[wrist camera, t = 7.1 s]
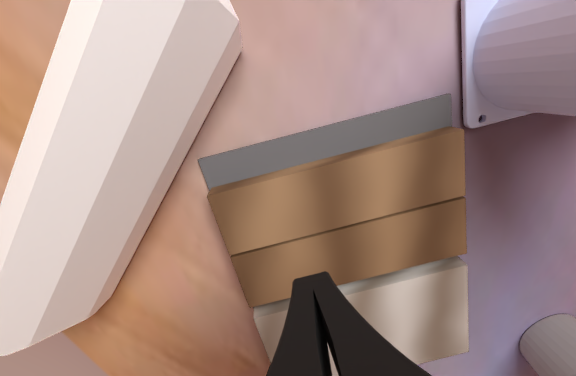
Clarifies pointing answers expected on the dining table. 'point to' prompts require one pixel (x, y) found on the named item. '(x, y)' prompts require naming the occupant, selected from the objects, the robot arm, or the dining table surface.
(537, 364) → the coffee cup
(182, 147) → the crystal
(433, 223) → the walnut boards
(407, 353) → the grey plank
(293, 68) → the dining table surface
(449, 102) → the underlay mat
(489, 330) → the dining table surface
